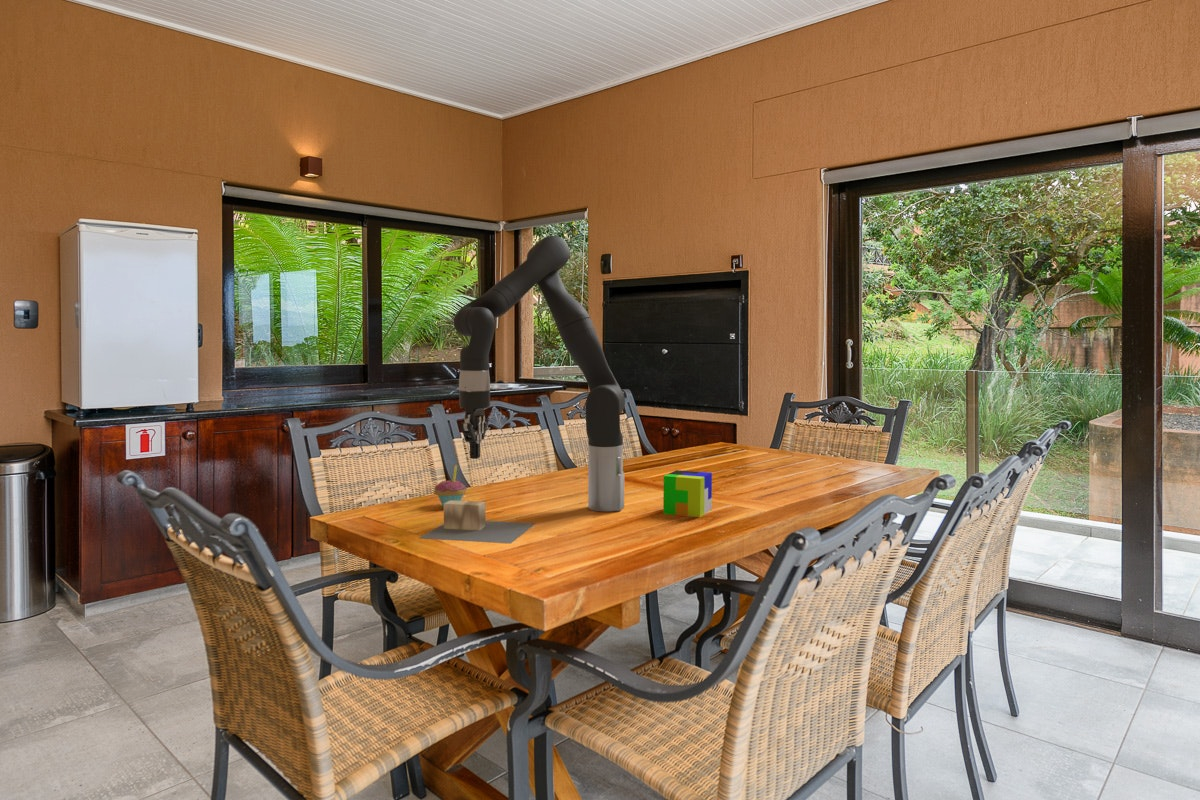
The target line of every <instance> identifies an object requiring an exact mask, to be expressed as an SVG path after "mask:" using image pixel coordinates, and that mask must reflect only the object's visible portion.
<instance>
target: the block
mask: <svg viewBox="0 0 1200 800" xmlns="http://www.w3.org/2000/svg"><path fill="white" fill-rule="evenodd" d="M486 521H487V520H486V501H473V500H472V501H471V500H461V501H454V500H450V501H448V502H446V503H444V507H443V524H444V529H462V530H481V529H482V528H484V527H485V526H486Z"/></svg>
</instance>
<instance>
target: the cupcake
mask: <svg viewBox="0 0 1200 800" xmlns="http://www.w3.org/2000/svg"><path fill="white" fill-rule="evenodd" d="M457 464H458V463H457V462H456V463H455V465H454V468H453V475H452V476H453V477H452V480H443V481H441V482H439V483H438V484H436V486H435V487H434V491H433V493H434V494H435V495H437V497H438V498H439V501H440V503H441V506H443V508H444V503H446V502H448V501H450V500H454V501H463V497H464V495H465V494H466V491H467V489H468V488H467V486H466V485H465V484H464V483H463V482H461V481H459V480H456V476H457V469H458V466H457Z"/></svg>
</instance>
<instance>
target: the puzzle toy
mask: <svg viewBox="0 0 1200 800" xmlns="http://www.w3.org/2000/svg"><path fill="white" fill-rule="evenodd" d="M712 480H713V473H712V472H705V471H692V470H679V469H676V470H673V471H672V472H669V473H668V474H665V475H663V503H662V504H663V507H662V508H663V512H662V513H663V514H664V515H673V516H674V515H675V516H684V517H685V516H686V517H694V518H701V517H703V516H705V515H706V514H707V513H709V512H710V511H712V510H713V509H712V501H713V500H712V499H713V498H712V497H713V495H712V494H713V493H712V492H713V491H712V490H713V486H712V485H713V481H712Z"/></svg>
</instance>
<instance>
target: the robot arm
mask: <svg viewBox="0 0 1200 800" xmlns="http://www.w3.org/2000/svg"><path fill="white" fill-rule="evenodd" d="M570 253H571V252H570V247H569V245H568V244H567V242H566V240H565V239H563V238H562V237H560V236H558V235H548V236H545V237H543V238H541V239H540V240H539V241H537V243H535V244H534V245H533V246H532V247H531V248H530V249H529V250H528V252H527V255H526V260H525V261H523V263H521V264H520V265H519V266H517V267H516V268H515V269H514V270H512V271H510V272H509V273H508V274H507V275H505V276H504V277H503V278H502V279H500V280H499V281H498V282H496V283H495V284H494V285H493V286H492V287H490V289H488V290H487V291H486V292H485V293H484V294H482V295H481V296H479V297H477V298H475V299H473V300H471V301H469V302H468V303H466V304H464V305H463V306H462V307H461V308H460V309H458V311H457V312H456V314H455V316H454V318H453V326H454V329H455V330H456V333H458V334H459V335H461V336H465V337H470V339H469V343H468V344H467V345H466V346H464V347H462V348H461V350H460V353H459V354H460V355H459V370H460V371H459V381H458V385H459V386H458V389H459V393H458V394H459V396H458V397H459V399H458V401H459V403H458V404H459V407H460V409H464V410H465V412H464V422H461V423H460V430H461V433H462V435H463V437H464V440H465V443H468V444H469V458H470V459H472V460H477V459H480V458H481V443H482V440H484V439H485V436H486V432H487V428H488V424H489V418H486V414H485V409H489V408H490V407H491V379H490V357H489V354H490V351H491V347H492V344H493V343H492V342H493V339H494V335H495V330H496V321H495V319H496V318H500V317H502V316H504V315H505V314H506V313H507V312H508V311H510V310H511V309H512V308H513V307H514V306H515V305H516V304H518V302H519V301H520V300H521V299H522V298H523V297H525V295H526V294H527V293H528V292H529V291H530V290H531V289H532V288H533V287H534V286H536V285H537V286H538V288H539V290H540V291H541V294H542V296H543V298H544V299H545V302H546V305H547V307H548V309H549V311H550V314H551V316H552V317H553V320H554V322H555V325H556V328H557V331H558V333H559V336H560V338H561V341H562V343H563V345H564V347H565V350H567V352H568V354H569V355H570V357H571V358H572V359H573V361H574V362H575V364H576V365H577V366H578V368H579V369H580V371H581V372H582V374H583V376H584V379H585V380H586V383H587V385H588V389H589V393H587V397H586V400H585V429H586V436H587V439H588V441H587V442H588V445H587V446H588V452H587V453H588V461H587V463H588V465H587V466H588V478H587V479H588V481H587V482H588V487H587V489H588V490H587V492H588V499H587V502H588V505H587V507H588V509H589V510H591V511H595V512H621V511H622V510H623V508H624V507H625V471H623V469H624V467H623V464H624V462H623V461H624V460H623V457H624V453H623V447H624V446H623V445H624V441H623V440H624V437H623V434H622V431H621V414H622V412H624V410H625V409H624V408H625V405H626V398H625V394H624V393H623V390H622V388H621V387H620V384H619V383H618V381H617V380H616V378H615V375H614V374H613V372H612V370H611V368H610V366H609V364H608V361H607V359H606V356H605V352H604V350H603V347H602V344H601V342H600V339H599V337H598V334H597V331H596V328H595V327H594V324H593V321H592V319H591V316H590V314H589V313H588V312H587V309H586V308H585V307H584V306H583V305H582V304H581V303H580V302H579V301H578V300H577V299H575V298H574V297H573V296H572V295H571V294H570V293H569V292H568V290H567V288H566V287H565V285H564V283H563V280H562V278H561V275H560V272H559V271H560V270H561V269H563V268H564V267H565V266H566V264H567V263H568V261H569V259H570V255H571V254H570Z"/></svg>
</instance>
